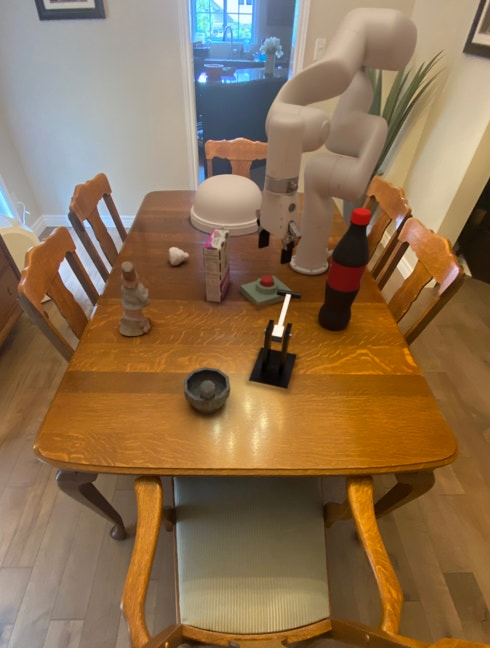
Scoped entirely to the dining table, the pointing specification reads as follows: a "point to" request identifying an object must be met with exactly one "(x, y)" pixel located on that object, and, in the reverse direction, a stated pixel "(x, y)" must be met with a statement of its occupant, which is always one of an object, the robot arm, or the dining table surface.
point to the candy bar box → (216, 265)
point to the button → (267, 281)
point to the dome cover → (226, 205)
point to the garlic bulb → (177, 256)
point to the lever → (283, 314)
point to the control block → (263, 292)
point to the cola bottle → (346, 273)
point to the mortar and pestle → (206, 389)
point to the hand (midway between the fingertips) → (274, 254)
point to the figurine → (133, 302)
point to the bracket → (274, 360)
